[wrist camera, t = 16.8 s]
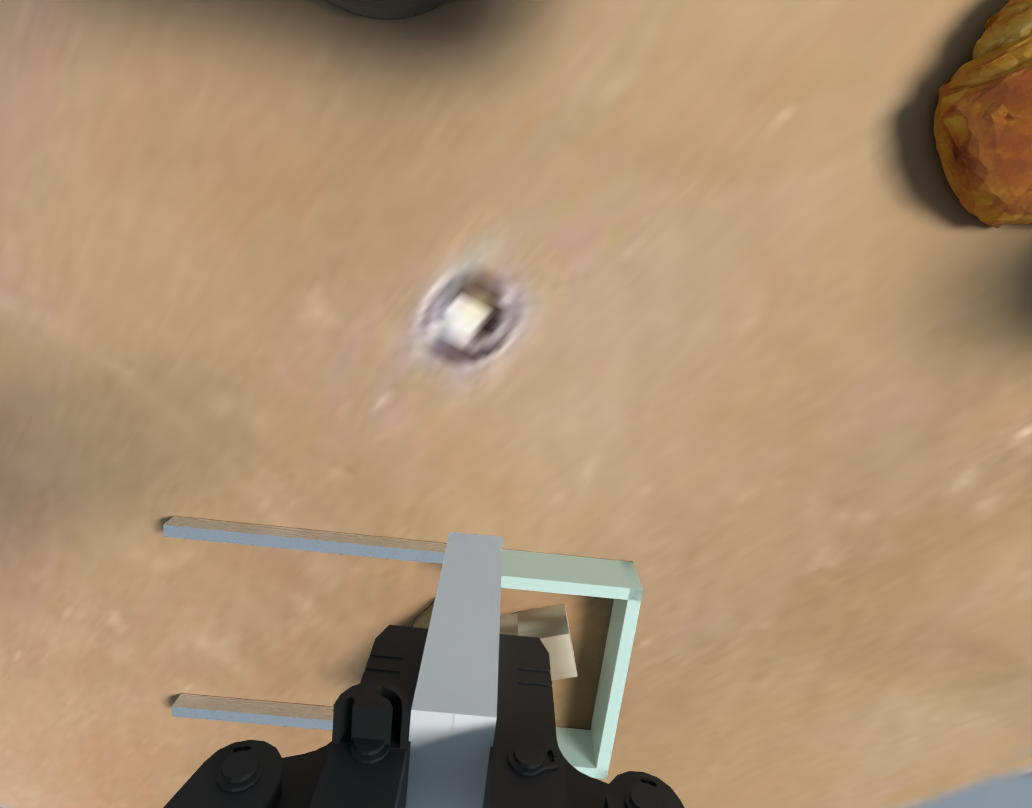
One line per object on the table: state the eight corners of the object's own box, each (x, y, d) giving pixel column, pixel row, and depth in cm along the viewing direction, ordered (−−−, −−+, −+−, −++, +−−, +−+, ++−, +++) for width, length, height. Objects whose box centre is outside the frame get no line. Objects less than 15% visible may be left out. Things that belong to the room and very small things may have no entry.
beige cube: (526, 651, 51) (527, 684, 47) (517, 611, 50) (518, 642, 46) (572, 643, 51) (577, 676, 47) (564, 603, 50) (569, 633, 46)
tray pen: (455, 727, 53) (450, 765, 49) (474, 546, 48) (471, 572, 44) (599, 740, 53) (606, 779, 50) (633, 561, 49) (643, 589, 45)
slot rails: (181, 702, 52) (172, 716, 51) (173, 516, 47) (163, 524, 46) (455, 727, 53) (453, 740, 51) (474, 545, 48) (473, 555, 47)
